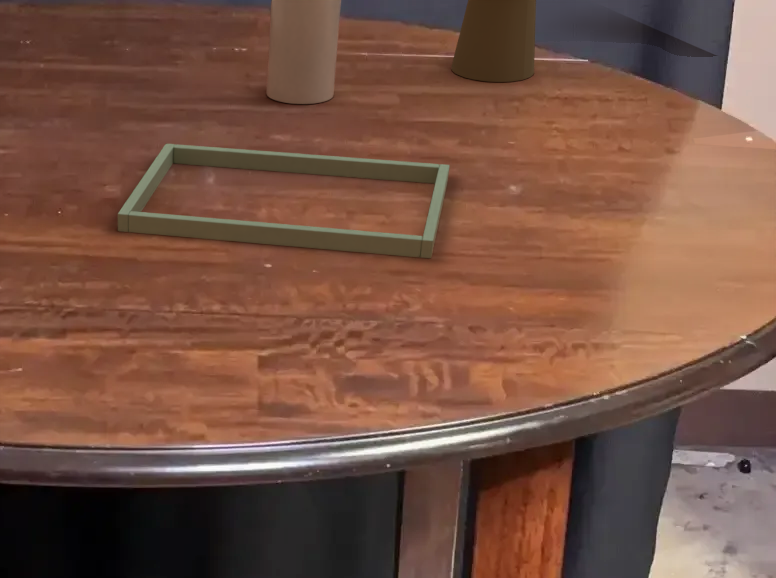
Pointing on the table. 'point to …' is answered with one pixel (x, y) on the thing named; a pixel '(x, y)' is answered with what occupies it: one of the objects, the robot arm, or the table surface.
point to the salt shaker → (303, 50)
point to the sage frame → (285, 233)
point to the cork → (496, 41)
